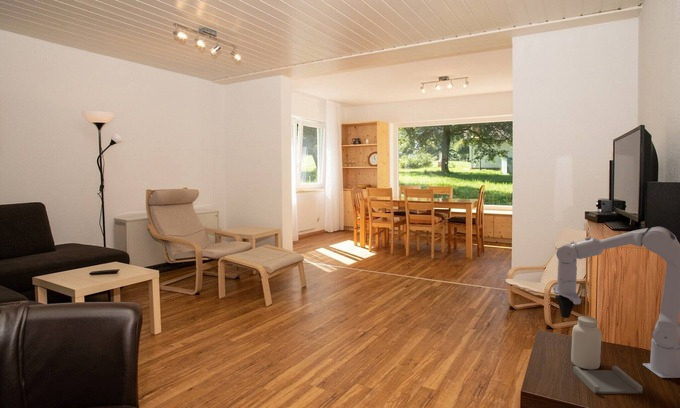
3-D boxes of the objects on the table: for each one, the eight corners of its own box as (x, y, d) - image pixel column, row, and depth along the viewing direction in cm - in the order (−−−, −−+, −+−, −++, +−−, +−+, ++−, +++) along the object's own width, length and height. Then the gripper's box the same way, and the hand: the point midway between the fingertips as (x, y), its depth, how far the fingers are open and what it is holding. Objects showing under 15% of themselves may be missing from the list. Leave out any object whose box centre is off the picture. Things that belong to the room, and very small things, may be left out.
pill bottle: (604, 371, 127) (606, 324, 125) (576, 369, 128) (577, 323, 127) (594, 359, 134) (596, 314, 133) (567, 357, 136) (568, 313, 134)
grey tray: (616, 371, 126) (616, 365, 126) (642, 393, 115) (642, 386, 115) (572, 372, 127) (573, 366, 126) (594, 393, 115) (595, 386, 115)
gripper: (545, 273, 149) (544, 309, 150) (565, 285, 135) (564, 325, 136) (565, 273, 149) (563, 309, 150) (587, 285, 134) (586, 325, 136)
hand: (565, 317), depth 143 cm, fingers closed
